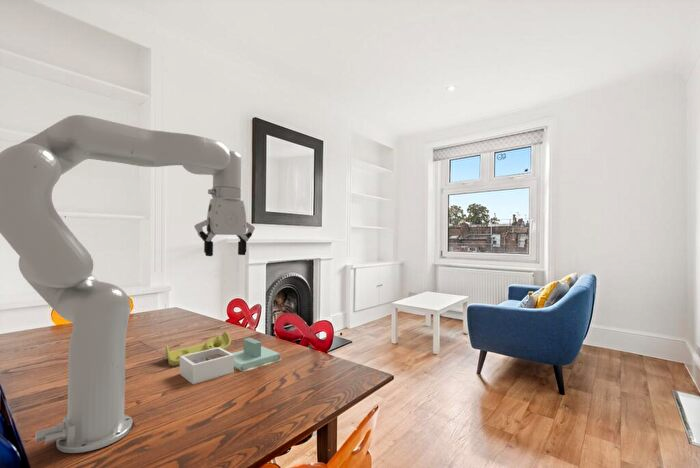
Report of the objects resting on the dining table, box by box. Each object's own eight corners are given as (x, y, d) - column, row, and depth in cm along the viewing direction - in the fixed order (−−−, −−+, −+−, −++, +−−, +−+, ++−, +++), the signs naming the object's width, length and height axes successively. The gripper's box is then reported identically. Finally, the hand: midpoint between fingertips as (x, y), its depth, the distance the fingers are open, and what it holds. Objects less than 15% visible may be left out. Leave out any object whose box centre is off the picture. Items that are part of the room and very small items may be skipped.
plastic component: (170, 362, 105) (165, 341, 112) (170, 380, 108) (165, 358, 115) (234, 346, 116) (226, 328, 124) (233, 362, 119) (225, 343, 126)
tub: (192, 387, 93) (193, 365, 93) (179, 376, 100) (179, 356, 100) (233, 374, 102) (234, 354, 102) (218, 365, 109) (219, 347, 109)
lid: (241, 370, 102) (241, 349, 103) (223, 360, 111) (224, 341, 111) (279, 359, 112) (280, 340, 112) (260, 350, 121) (261, 332, 121)
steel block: (194, 379, 96) (194, 365, 96) (188, 375, 99) (188, 361, 99) (208, 375, 99) (208, 361, 99) (202, 371, 102) (202, 358, 102)
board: (243, 374, 102) (243, 371, 102) (222, 362, 111) (222, 359, 111) (282, 362, 112) (282, 359, 112) (259, 352, 121) (259, 349, 121)
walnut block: (211, 374, 100) (211, 360, 100) (205, 370, 103) (205, 357, 103) (224, 370, 103) (224, 357, 103) (218, 367, 105) (218, 354, 105)
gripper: (201, 190, 87) (200, 257, 87) (260, 197, 100) (260, 255, 99) (190, 193, 92) (189, 255, 92) (247, 199, 105) (247, 254, 105)
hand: (225, 255), depth 96 cm, fingers open, 9 cm apart
